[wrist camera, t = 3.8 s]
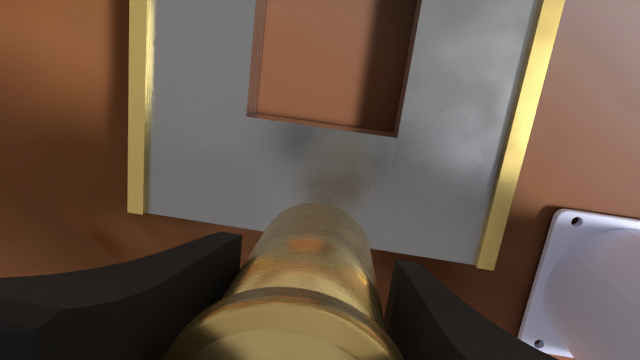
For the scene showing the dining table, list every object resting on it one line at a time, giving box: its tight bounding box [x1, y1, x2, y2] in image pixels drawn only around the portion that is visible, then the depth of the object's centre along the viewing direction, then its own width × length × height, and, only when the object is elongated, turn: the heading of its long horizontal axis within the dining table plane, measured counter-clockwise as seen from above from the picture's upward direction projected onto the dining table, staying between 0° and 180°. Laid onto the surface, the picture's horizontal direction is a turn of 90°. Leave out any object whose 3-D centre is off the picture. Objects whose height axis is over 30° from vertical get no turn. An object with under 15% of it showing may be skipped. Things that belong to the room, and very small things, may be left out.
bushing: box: [161, 202, 404, 360], centre depth 10 cm, size 5×5×8 cm
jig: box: [127, 0, 565, 271], centre depth 18 cm, size 18×18×2 cm
